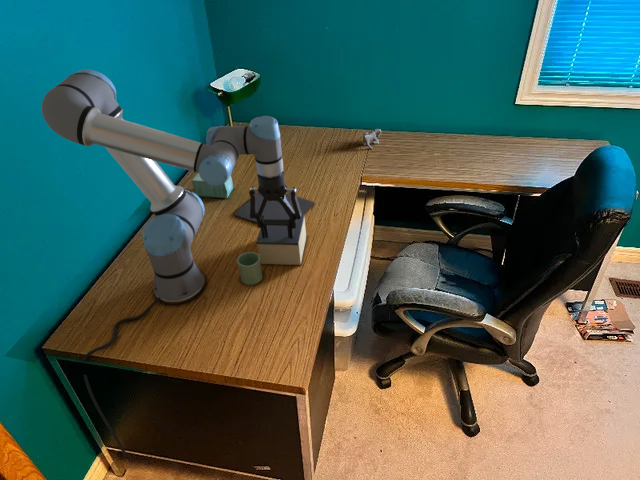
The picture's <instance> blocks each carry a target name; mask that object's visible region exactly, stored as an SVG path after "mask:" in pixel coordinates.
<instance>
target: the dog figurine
mask: <svg viewBox="0 0 640 480" xmlns="http://www.w3.org/2000/svg"><path fill="white" fill-rule="evenodd" d="M381 134H382V130H381V129H380V128H375V129H373V130H371V131H370V132H368V131H366V132H365V133H364V134H363V136H362V142H363V143H362V146H366V147H368V149H371V150H373V147H372V146H371V145H370V142H371V143H372V144H374V145H378V144H380V140H379V138H380V137H381Z"/></svg>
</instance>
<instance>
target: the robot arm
mask: <svg viewBox="0 0 640 480" xmlns="http://www.w3.org/2000/svg"><path fill="white" fill-rule="evenodd" d="M123 111H124V110H123V108H122V107H121V106H120V104H119V103H118V101H117V89H116V87H115V85H114V83H113V82H112V80H111V79H109V78H108V77H107V75H105V74H103V73H101V72H99V71H98V70H92V69H81V70H78V71H76V72H74V73H71V74H70V75H69V76H67V77H66V78H64V79H63V80H62V81H61V82H60V83H58V84H57V85H55V86H54V87H53V88H51V89H50V90H48V91H47V92H46V93H45V95H44V97H43V99H42V102H41V114H42V118H43V119H44V121H45V123H46V124H47V126H48V127H49V128H50V129H51V130H52V131H53V132H54V133H55V134H56V135H58V136H60V137H62V138H63V139H65V140H67V141H69V142H72V143H75V144H78V145H81V146H86V147H92V146H93V145H96V146H100V147H104V149H106V151H108V153H109V154H110V155H111V157H112V158H113V159H114V160H115V161H116V162H117V164H118V165H119V166H120V167H121V168H122V169H123V171H124V172H125V173H126V175H127V176H128V177H129V178H130V180H131V181H132V182H133V183H134V185H136V186H137V187H138V189H139V190H140V191H141V193H143V195H144V196H145V197H146V198H147V199H148V201H149V202H150V211H151V212H152V213H153V215H154V219H153V218H152V219H151V218H150V219H149V220H148V221H147V222H146V224H145V225H144V227H143V229H142V234H141V235H142V236H141V237H142V242H143V246H144V249H145V250H146V254H147V256H148V259H149V262H150V264H151V268H152V270H153V273H154V275H153V284H152V285H153V288H152V289H153V293H154V295H155V298H156V299H155V300H154V301H153V302H152V303H151V304H150V305H148V306H147V307H146V309H144V311H142V313H141V314H139V315H136V316H132V317H127V318H126V317H125V318H123V319H120V320H118V321H117V322H116V323H115V324H114V326H113V336H112V339H110V340H109V341H108V342H106V343H105V344H103V345H101V346H99V347H96V348H93V349H92V350H90V351H89V352H87V353H86V354H85V355H84V357H83V358H82V360H81V364H84V363H85V362H86V361H87V359H88V358H89V357H90V356H91V355H93V354H94V353H96V352H98V351H101V350H103V349H105V348H108V347H109V346H110V345H112V344H113V343H114V342H115V341H116V339H117V335H118V333H117V332H118V330H117V329H118V327H119V326H120V324H122V323H125V322H129V321H135V320H139V319H141V318H142V317H144V316H145V315H146V314H147V313H148V312H149V311H150V310H151V309H152V308H153V307H154V306H155V305H156V304H158V302H161V303H163V304H166V305H181V304H185V303H189V302H190V301H192V300H194V299H196V298H197V297H198V296H200V294H201V293H202V292H203V290H204V288H205V286H206V279H205V275H204V273H203V272H202V270H201V269H200V268H199V267H198V265H197V264H196V263H195V261H194V257H193V254H192V250H191V245H192V243H193V242H194V239H195V237H196V235H197V232H198V230H199V228H200V226H202V224H203V221H204V216H205V205H204V202H203V201H202V199H201V197H200V196H197V195H196V194H195V192H193V191H192V192H190V190H189V189H188V190H187V189H185V188H184V187H183V186H180V185H175V183H174V182H173V181H172V180H171V178H169V176H168V174H166V172H165V171H164V169H163V168H162V167H161V166H160V164H165V165H168V166H172V167H175V168H179V169H182V170H185V171H189V172H192V173H196V174H197V173H199V175H200V177H201V179H202V180H203V181H204V182H206V183H207V184H209V185H212V186H219V185H222V184H224V183H225V182H226V181H227V180H228V178H229V177H230V175H231V176H232V173H233V172H234V169H235V166H236V163H237V161H238V159H239V157H240V156H241V155H242V156H243V155H253V156H254V162H255V168H256V173H257V175H256V176H257V182H258V187H254V186H250V188H249V191H248V194H249V197H250V200H251V204H250V218H255V219H256V220H257V223H256V224H257V228H258V229H260V228H261V231H262V237H263V238H265V236H266V232H265V225H263V219H265V218H264V216H261V215H262V213H263V210H264V208H265V205H266V202H267V200H268V201H279V203H280V204H281V205H282V206H283V208H284V210H285V211H286V213H287V214H288V216H289V217H290V218H289V229H290V239H293V236H294V229H295V228H296V225H297V224H296V219H300V218H301V214H302V212H301V209H300V206H299V202H298V199H297V197H298V196H297V187H296V186H293V187H292V188H291V187H288V186H287V185H286V179H285V171H284V161H283V152H282V142H281V132H280V127H279V122H278V120H277V119H276V118H274V117H273V116H270V115H262V116H256V117H254V118H252V119H251V121H250V123H249V125H241V126H240V125H219V126H211V127H209V128H208V130H207V132H206V137H205V139H206V140H205V142H206V143H203V142H200V141H197V140H193V139H189V138H186V137H183V136H179V135H175V134H173V133H169V132H166V131H163V130H159V129H156V128H152V127H148V126H146V125H142V124H139V123H136V122H131V121H128V120H125V119H124V118H123V113H124V112H123ZM159 163H160V164H159ZM258 193H260V194H261V195H262V196H263V197H264V198H263V201H262V203H261V206H260V209H259V211H258V213H256V195H257V194H258ZM287 193H288V195H289V196H291V201H292V204H293V207H294V211H295V212H294V211H293V209H292V207H291V206H290V204H289V202H288V201H287V199H286V196H285V194H287ZM82 374H83V373H82ZM83 380H84V383H85V386H86V388H87V391H88V394H89V396H90V398H91V401H92V403H93V405H94V406H95V409H96V410H97V412H98V414H99V415H100V417H101V419H102V420H103V422H104V424H105V426H106V427H107V429H108V430H109V432H110V434H111V435H112V437H113V439H114V440H115V442H116V443H117V445H118V447H119V449H120V451H121V452H122V454H123V456H124V457H127V456H128V453H127V452H126V450H125V448H124V446H123V444H122V443H121V441H120V439H119V438H118V436H117V434H116V433H115V431H114V430H113V428H112V426H111V425H110V423H109V421H108V420H107V418H106V416H105V414H104V413H103V411H102V408H101V407H100V405H99V403H98V402H97V400H96V397H95V395H94V393H93V391H92V387H91V385H90V382H89V379H88V375H87V374H85V373H84V374H83Z"/></svg>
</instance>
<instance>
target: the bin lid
mask: <svg viewBox="0 0 640 480" xmlns="http://www.w3.org/2000/svg"><path fill="white" fill-rule="evenodd" d="M304 216H305V213H303V214H301V218H300V219H296V224H297V225H296V228H295V229H294V236H293V239H290V229H289V218H290V217H289V216H288V214H287V213H265V216H264V218H265V219H263V225H265V232H266V236H265V238H263V237H262V231H261V228H259V232H258V235H257V238H256V241H255V245H257V244H268V245H298V244H299V239H300V235H301V230H302V225H303V221H304Z"/></svg>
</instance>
